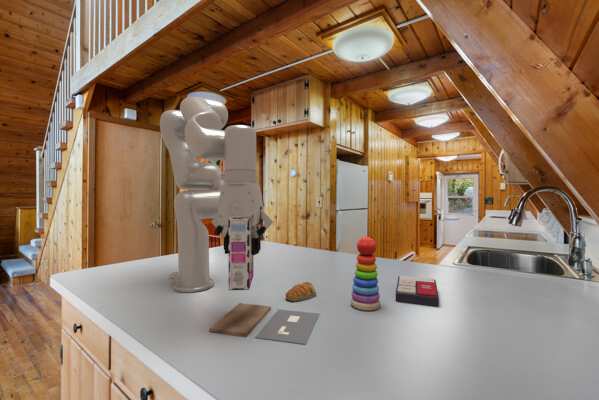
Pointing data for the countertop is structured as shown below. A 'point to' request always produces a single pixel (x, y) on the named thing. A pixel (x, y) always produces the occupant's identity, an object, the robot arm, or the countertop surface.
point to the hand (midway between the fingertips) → (242, 252)
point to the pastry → (301, 292)
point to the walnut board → (240, 320)
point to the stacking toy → (365, 277)
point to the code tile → (289, 326)
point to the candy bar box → (240, 253)
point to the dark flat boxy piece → (417, 291)
